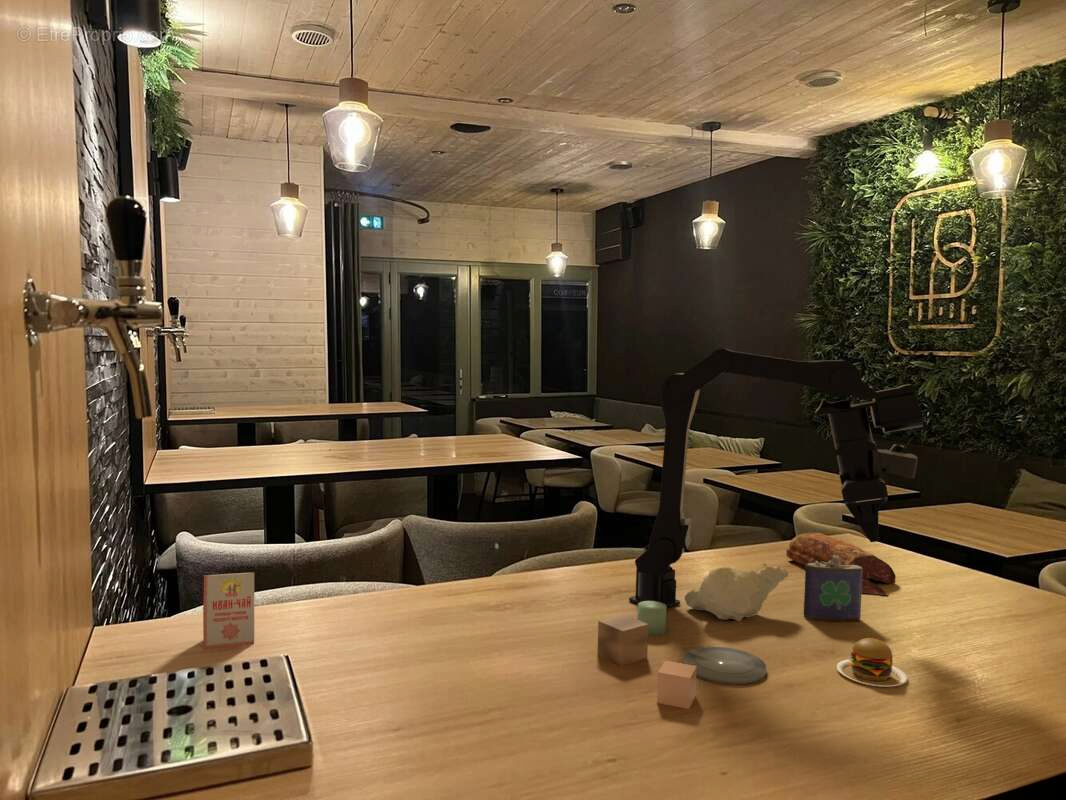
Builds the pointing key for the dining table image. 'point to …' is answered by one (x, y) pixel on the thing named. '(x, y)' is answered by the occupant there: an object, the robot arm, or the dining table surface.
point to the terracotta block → (676, 684)
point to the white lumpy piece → (735, 591)
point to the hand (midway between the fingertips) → (872, 534)
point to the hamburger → (872, 662)
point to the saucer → (726, 665)
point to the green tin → (653, 616)
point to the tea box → (228, 610)
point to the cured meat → (824, 548)
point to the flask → (833, 591)
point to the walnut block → (622, 639)
